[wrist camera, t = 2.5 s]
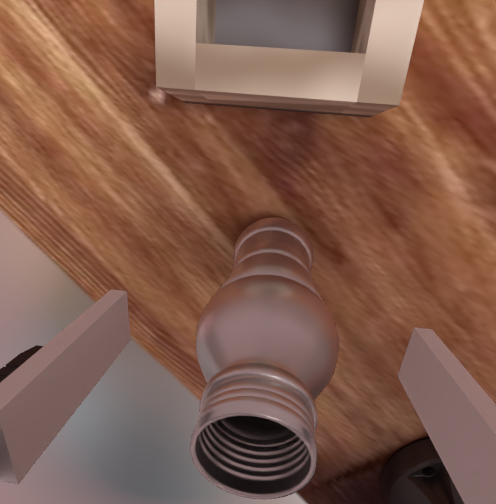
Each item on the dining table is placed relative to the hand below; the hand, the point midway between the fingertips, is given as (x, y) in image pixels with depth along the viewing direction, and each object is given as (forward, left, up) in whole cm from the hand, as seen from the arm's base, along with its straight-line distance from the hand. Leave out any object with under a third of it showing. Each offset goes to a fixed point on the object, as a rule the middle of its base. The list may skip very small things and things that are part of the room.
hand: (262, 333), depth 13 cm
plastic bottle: (0, 0, -15) cm, 15 cm away
